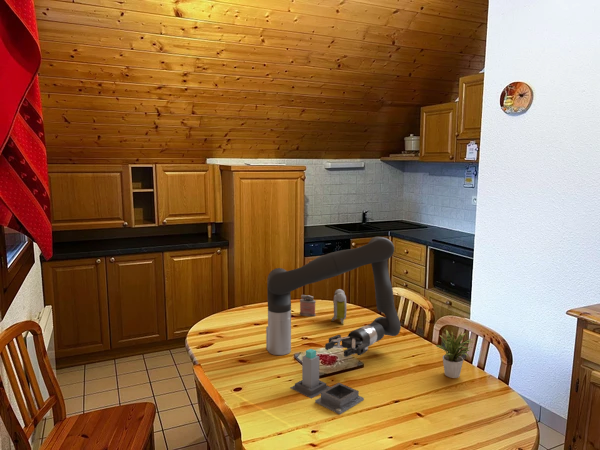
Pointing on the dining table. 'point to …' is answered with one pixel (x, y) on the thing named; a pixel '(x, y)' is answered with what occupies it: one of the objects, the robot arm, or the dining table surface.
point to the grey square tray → (310, 392)
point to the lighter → (307, 306)
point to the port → (339, 398)
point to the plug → (310, 369)
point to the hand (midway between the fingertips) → (335, 350)
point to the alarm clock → (339, 306)
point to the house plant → (453, 354)
